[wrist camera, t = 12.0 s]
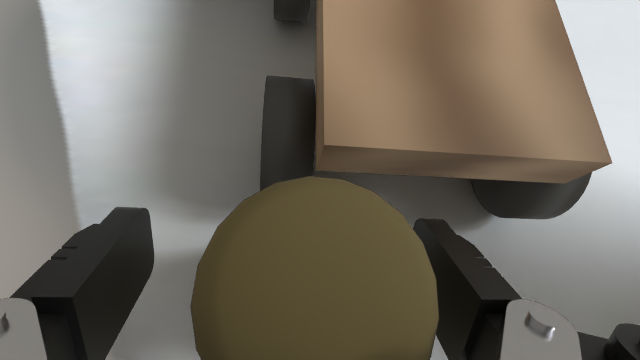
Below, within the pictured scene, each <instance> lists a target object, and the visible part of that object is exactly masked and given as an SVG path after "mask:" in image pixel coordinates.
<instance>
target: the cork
mask: <svg viewBox="0 0 640 360" xmlns="http://www.w3.org/2000/svg"><path fill="white" fill-rule="evenodd" d="M191 314H192V321H193V328H194V336H195V343H196V350H197V352H198V354H199V356H200V358H201V360H430V358H431V353H432V349H433V344H434V339H435V334H436V330H437V325H438V320H439V311H438V298H437V285H436V277H435V274H434V272H433V269H432V266H431V264H430V261H429V258H428V255H427V253H426V250H425V247H424V245H423V242H422V241H421V240H420V238H419V237H418V236H417V234H416V233H415V231H414V230H413V229H412V227H411V226H410V225H409V223H408V222H407V220H406V219H405V218H404V216H403V215H402V214H401V213H400V212H399V211H398V210H396V209H395V208H394V207H393V206H391V205H390V204H389V203H387V202H386V201H385V200H384V199H382V198H381V197H380V196H379V195H377V194H376V193H375V192H373V191H370V190H368V189H365V188H363V187H360V186H358V185H355V184H353V183H350V182H348V181H346V180H343V179H333V178H323V177H312V176H308V177H303V178H298V179H293V180H288V181H283V182H278V183H275V184H273V185H271V186H269V187H267V188H265V189H263V190H262V191H260V192H258V193H256V194H254V195H252V196H251V197H249V198H247V199H245V200H244V201H243V202H242V203H241V204H240V205H239V206H238V207H237V208H236V209H235V210H234V211H233V212H232V213H231V214H230V215H229V216H228V217H227V218H226V219H225V220H224V221H223V222H222V223H221V224H220V225H219V226H218V227H217V229H216V231H215V233H214V235H213V237H212V239H211V241H210V242H209V244H208V246H207V248H206V250H205V252H204V254H203V256H202V258H201V260H200V262H199V264H198V267H197V273H196V278H195V284H194V289H193V295H192V301H191Z"/></svg>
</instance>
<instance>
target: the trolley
mask: <svg viewBox="0 0 640 360" xmlns="http://www.w3.org/2000/svg"><path fill="white" fill-rule="evenodd" d="M309 4H310V0H274V19H282V20H291V21H300V22H306V21H307V17H308V11H309ZM315 133H316V170H318V171H337V172H356V173H375V174H394V175H412V176H431V177H450V178H469V179H471V181H472V185H473V189H474V192H475V194H476V196H477V198H478V200H479V202H480V203H481V205H482V206H483V207H484V208H485V209H486V210H487V211H488V212H490V213H491V214H493V215H495V216H497V217H501V218H521V219H550V218H554V217H556V216H559V215H561V214H563V213H564V212H566V211H567V210H569V209H570V208H571V207H572V206H573V205H574V204H575V203H576V202H577V201H578V200H579V198H580V197H581V196H582V194H583V193H584V191H585V189H586V187H587V185H588V183H589V180H590V177H591V174H592V172H593V171H595V170H597V169H600V168H602V167H604V166H607V165H609V164H611V163H612V161H611V158H610V155H609V152H608V149H607V146H606V144H605V141H604V138H603V135H602V132H601V129H600V126H599V124H598V121H597V118H596V115H595V112H594V109H593V107H592V104H591V101H590V98H589V95H588V92H587V89H586V87H585V84H584V81H583V78H582V75H581V72H580V70H579V67H578V64H577V61H576V58H575V55H574V52H573V50H572V47H571V44H570V41H569V38H568V35H567V33H566V30H565V27H564V24H563V21H562V18H561V15H560V13H559V10H558V7H557V4H556V1H555V0H316V92H315V84H314V80H311V79H300V78H289V77H277V76H267V77H266V84H265V95H264V108H263V125H262V145H261V173H260V191H262V190H263V189H265V188H267V187H269V186H271V185H273V184H275V183H278V182H283V181H288V180H293V179H298V178H303V177H308V176H312V175H313V164H314V151H315Z"/></svg>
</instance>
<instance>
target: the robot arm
mask: <svg viewBox="0 0 640 360" xmlns="http://www.w3.org/2000/svg"><path fill="white" fill-rule="evenodd" d="M413 230H414V231H415V233H416V234H417V236H418V237H419V238H420V240H421V241H422V242H423V245H424V247H425V250H426V253H427V255H428V258H429V261H430V264H431V266H432V269H433V272H434V274H435V277H436V285H437V298H438V311H439V320H438V325H437V330H436V336H437V338H438V340H439V342H440V344H441V346H442V348H443V350H444V352H445V354H446V356H447V358H448V360H640V326H639V325H634V324H619V325H618V326H616V328H615V329H614V331H613V333H612V334H611V336H610V338H609V339H605V338H600V337H596V336H592V335H588V334H584V333H580V332H577V331H576V330H575V328H574V327H573V325H572V324H571V323H570V322H569V321H568V320H567V319H566V318H564V317H563V316H562V315H561V314H559V313H558V312H556V311H555V310H553V309H551V308H549V307H547V306H545V305H543V304H540V303H538V302H535V301H531V300H525V299H522V298H521V297H520V296H519V295H518V294H517V293H516V291H515V290H514V289H513V288H512V287H511V286H510V285H509V284H508V283H507V281H506V280H505V279H504V278H503V277H502V276H501V275H500V274H499V272H498V271H497V270H496V269H495V268H492V265H491V264H490V262H489V261H488V260H487V259H486V258H484V256H483V255H482V254H481V252H480V251H479V250H478V249H477V248H476V247H475V246H474V245H473V244H472V243H470V242H469V241H467V240H466V239H464V238H463V237H461V236H459V235H456V234H455V232H454V231H453V230H452V229H451V228H450V226H449V225H448V224H447V223H446V222H445V221H444V220H443V219H422V218H419V219H417V220H416V222H415V224H414V228H413ZM153 265H154V248H153V239H152V231H151V222H150V215H149V211H148V210H147V209H146V208H131V207H116V208H115V209H114V210H113V211H112V212H111V213H110V214H109V215H108V216H107V217H106V218H105V219H104V220H103V221H102V222H101V223H100V224H93V225H91V226H89V227H87V228H85V229H83V230H81V231H80V232H78V233H76V234H74V236H72V237H71V238H70V239H69V240H68V241H67V242H66V243H65V244H64V245H63V246H62V249H59V250H58V251H57V252H56V253H55V254H54V255H53V256H52V257H51V260H48V261H47V262H46V263H45V264H44V265H43V266H41V268H39V269H38V270H37V272H35V273H34V274H33V275H32V276H31V277H30V278H29V279H28V280H27V281H26V282H25V283H24V284H23V285H22V286H21V287H20V288H19V289H18V290H17V291H16V292H15V293H14V294H13V295H12V296H11V297H10V298H7V299H0V360H105V358H106V356H107V355H108V353H109V351H110V349H111V347H112V345H113V344H114V342H115V340H116V338H117V336H118V334H119V333H120V331H121V329H122V327H123V325H124V323H125V321H126V320H127V318H128V316H129V314H130V312H131V310H132V309H133V307H134V305H135V303H136V301H137V299H138V298H139V296H140V294H141V292H142V290H143V288H144V286H145V285H146V283H147V281H148V279H149V277H150V275H151V273H152V269H153Z"/></svg>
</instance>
